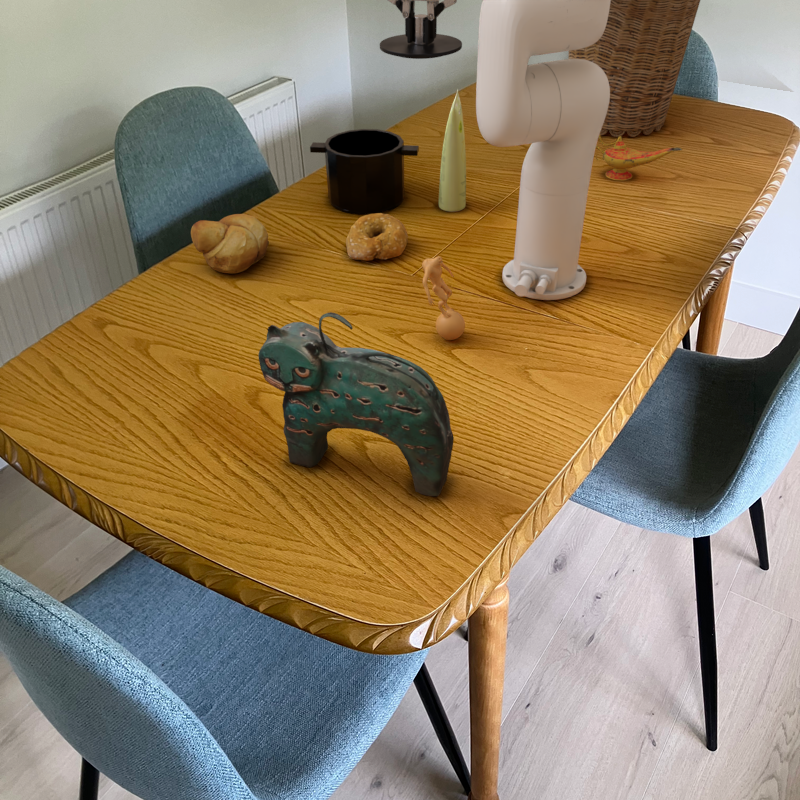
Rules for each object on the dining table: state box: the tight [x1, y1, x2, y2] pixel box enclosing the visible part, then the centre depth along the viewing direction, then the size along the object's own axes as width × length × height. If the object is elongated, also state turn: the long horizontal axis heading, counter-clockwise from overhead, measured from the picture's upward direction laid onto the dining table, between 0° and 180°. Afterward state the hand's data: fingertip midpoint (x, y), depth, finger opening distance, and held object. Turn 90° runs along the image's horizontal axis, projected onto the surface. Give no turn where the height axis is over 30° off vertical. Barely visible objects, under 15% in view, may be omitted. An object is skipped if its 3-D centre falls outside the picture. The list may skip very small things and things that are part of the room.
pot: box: [309, 128, 420, 216], centre depth 139 cm, size 14×19×10 cm
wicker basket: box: [567, 0, 701, 138], centre depth 163 cm, size 35×35×33 cm
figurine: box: [421, 255, 466, 341], centre depth 102 cm, size 8×6×12 cm
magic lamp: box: [595, 135, 683, 181], centre depth 145 cm, size 7×18×11 cm, turn 64°
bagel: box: [345, 213, 409, 262], centre depth 125 cm, size 10×11×5 cm
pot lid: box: [379, 13, 463, 60], centre depth 137 cm, size 15×15×6 cm
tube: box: [437, 88, 467, 213], centre depth 133 cm, size 6×5×20 cm
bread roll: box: [190, 213, 270, 274], centre depth 122 cm, size 13×10×8 cm
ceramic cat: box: [258, 311, 455, 497], centre depth 79 cm, size 20×6×20 cm, turn 69°
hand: (420, 41), depth 138 cm, fingers closed on pot lid, 2 cm apart
